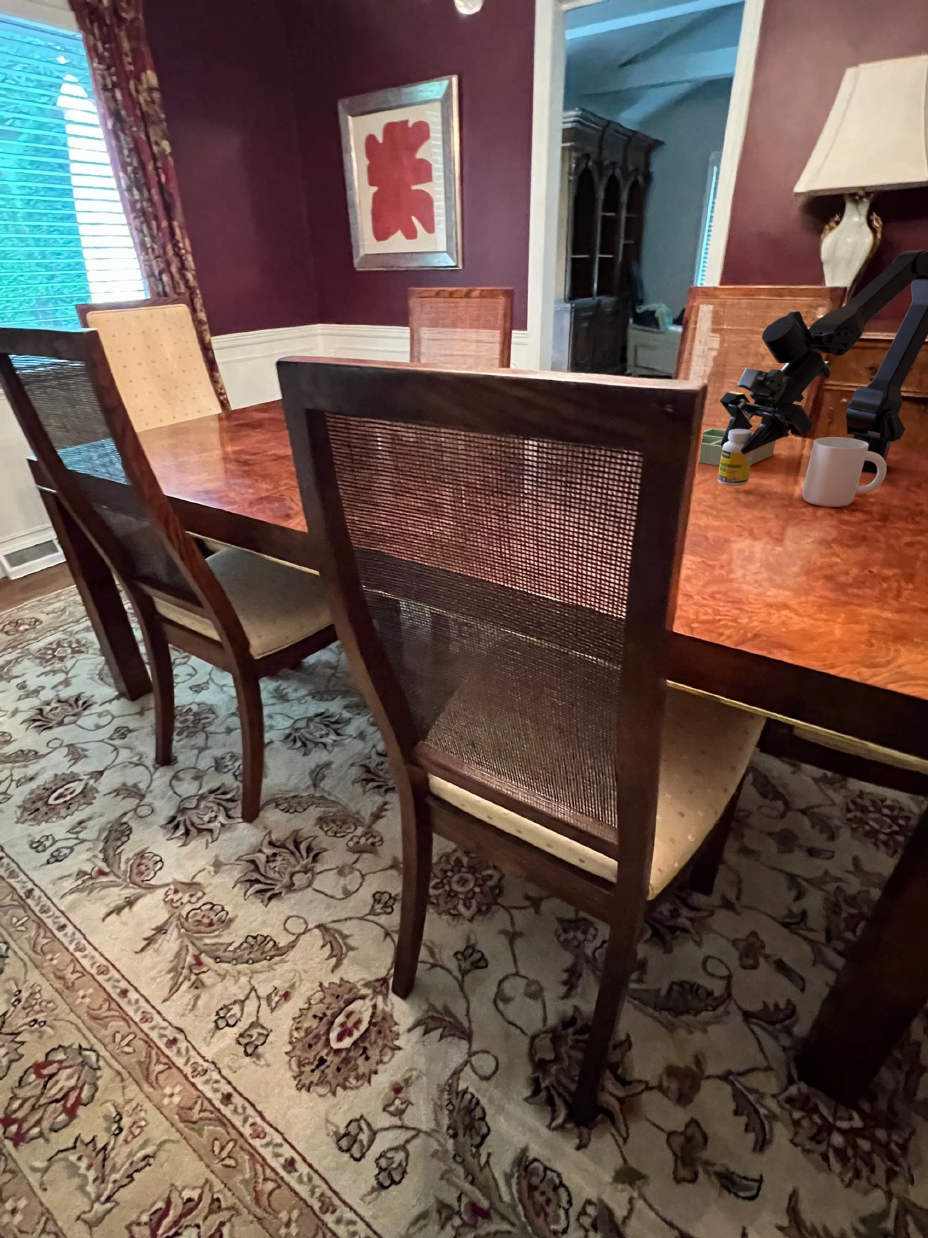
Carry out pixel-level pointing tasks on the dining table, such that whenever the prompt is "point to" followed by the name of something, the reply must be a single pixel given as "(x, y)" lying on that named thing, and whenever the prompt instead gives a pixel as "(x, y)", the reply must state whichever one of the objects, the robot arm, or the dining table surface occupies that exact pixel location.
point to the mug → (839, 471)
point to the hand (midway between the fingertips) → (731, 449)
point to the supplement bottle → (735, 459)
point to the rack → (713, 449)
